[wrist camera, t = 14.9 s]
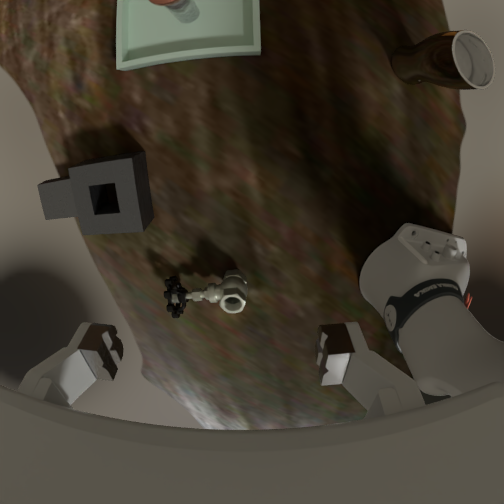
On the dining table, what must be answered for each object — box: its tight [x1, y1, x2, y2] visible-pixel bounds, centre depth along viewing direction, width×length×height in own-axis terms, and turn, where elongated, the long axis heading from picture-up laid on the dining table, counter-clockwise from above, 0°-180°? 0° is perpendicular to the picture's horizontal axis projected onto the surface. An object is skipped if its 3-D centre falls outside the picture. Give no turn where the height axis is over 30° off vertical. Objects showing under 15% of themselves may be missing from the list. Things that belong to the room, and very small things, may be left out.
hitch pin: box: [149, 0, 200, 23], centre depth 22 cm, size 4×4×11 cm
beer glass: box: [391, 30, 495, 90], centre depth 24 cm, size 7×7×15 cm
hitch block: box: [38, 151, 154, 235], centre depth 37 cm, size 19×10×5 cm, turn 92°
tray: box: [116, 0, 261, 71], centre depth 27 cm, size 18×14×3 cm
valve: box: [164, 269, 248, 318], centre depth 44 cm, size 7×7×12 cm
